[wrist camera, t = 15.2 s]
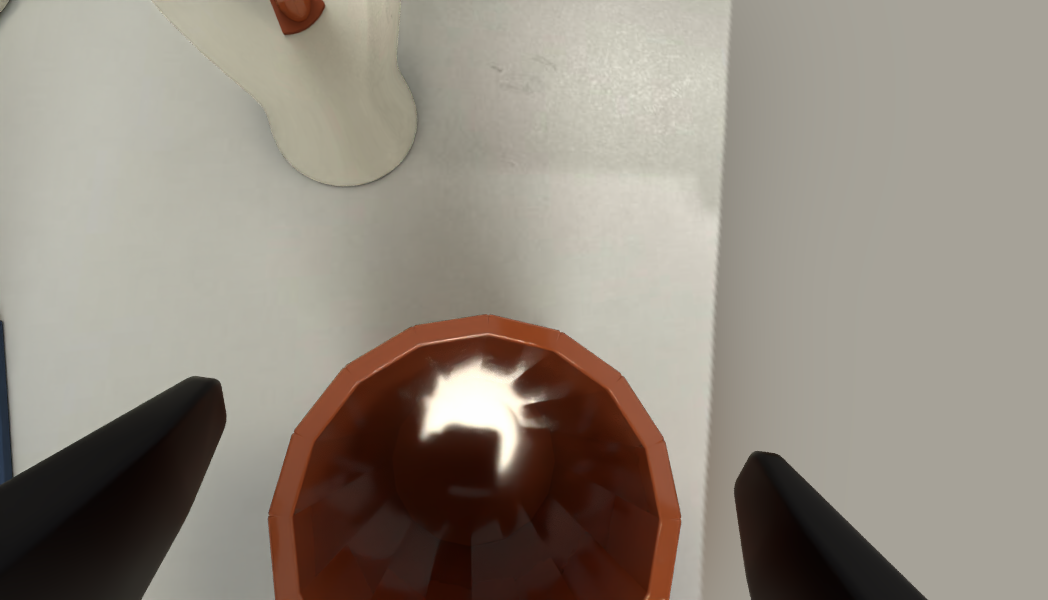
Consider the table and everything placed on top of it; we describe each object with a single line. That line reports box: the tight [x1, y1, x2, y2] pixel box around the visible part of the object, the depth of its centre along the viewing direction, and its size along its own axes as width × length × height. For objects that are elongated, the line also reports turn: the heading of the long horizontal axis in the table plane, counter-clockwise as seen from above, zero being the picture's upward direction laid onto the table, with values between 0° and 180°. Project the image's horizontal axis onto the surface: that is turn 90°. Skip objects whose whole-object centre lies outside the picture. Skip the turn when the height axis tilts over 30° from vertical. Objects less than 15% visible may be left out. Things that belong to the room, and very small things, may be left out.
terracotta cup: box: [268, 314, 681, 600], centre depth 16 cm, size 7×7×13 cm
